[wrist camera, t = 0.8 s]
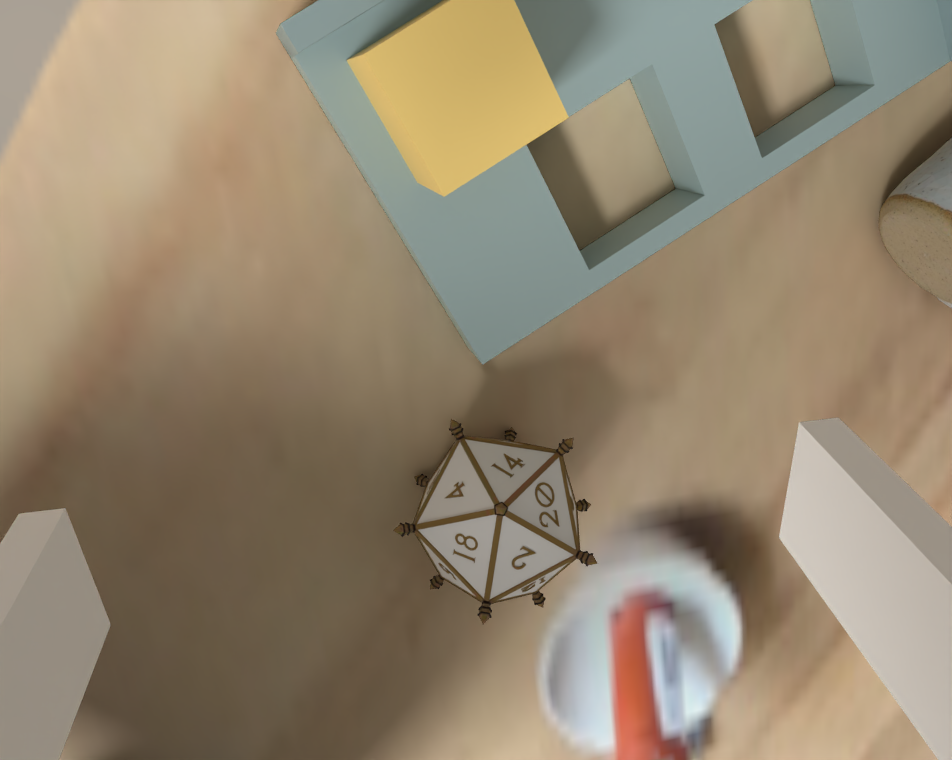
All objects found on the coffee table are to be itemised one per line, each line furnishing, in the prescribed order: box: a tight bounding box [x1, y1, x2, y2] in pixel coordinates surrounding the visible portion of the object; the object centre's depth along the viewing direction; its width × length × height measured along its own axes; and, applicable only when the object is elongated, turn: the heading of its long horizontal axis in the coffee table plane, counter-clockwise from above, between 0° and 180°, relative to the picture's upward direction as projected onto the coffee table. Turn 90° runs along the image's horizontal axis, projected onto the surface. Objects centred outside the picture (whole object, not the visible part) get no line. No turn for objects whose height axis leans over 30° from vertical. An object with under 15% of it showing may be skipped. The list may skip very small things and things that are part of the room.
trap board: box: [276, 0, 952, 365], centre depth 31 cm, size 26×15×4 cm, turn 120°
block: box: [347, 0, 569, 197], centre depth 27 cm, size 5×5×4 cm
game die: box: [393, 419, 597, 624], centre depth 34 cm, size 9×8×10 cm
